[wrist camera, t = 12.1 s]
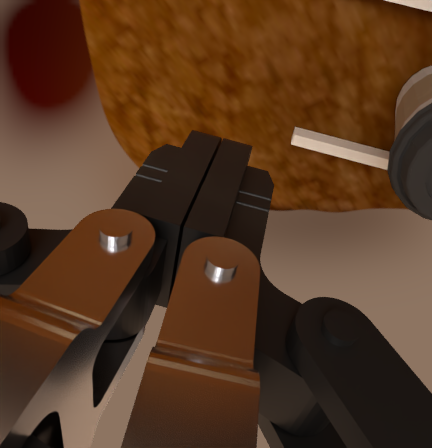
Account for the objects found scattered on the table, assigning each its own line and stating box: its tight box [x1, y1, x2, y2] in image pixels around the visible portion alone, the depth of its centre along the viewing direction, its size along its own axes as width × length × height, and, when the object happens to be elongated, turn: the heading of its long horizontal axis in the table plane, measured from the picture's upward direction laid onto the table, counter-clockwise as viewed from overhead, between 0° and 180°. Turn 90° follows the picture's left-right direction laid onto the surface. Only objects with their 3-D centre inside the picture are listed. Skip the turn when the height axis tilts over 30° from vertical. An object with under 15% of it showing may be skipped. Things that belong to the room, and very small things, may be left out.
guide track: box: [291, 0, 432, 170], centre depth 39 cm, size 16×21×6 cm
